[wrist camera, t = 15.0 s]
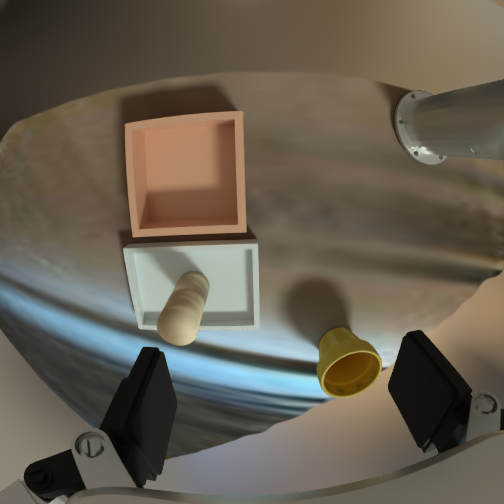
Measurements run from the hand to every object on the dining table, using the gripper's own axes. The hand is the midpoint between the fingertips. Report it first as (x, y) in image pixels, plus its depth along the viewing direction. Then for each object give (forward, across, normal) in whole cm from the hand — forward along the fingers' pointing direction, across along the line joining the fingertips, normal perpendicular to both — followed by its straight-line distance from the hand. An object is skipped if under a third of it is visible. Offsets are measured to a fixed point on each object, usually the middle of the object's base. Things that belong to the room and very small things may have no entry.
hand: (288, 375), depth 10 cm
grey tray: (+32, +10, +10) cm, 35 cm away
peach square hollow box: (+32, +9, -6) cm, 34 cm away
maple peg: (+32, +10, +10) cm, 35 cm away
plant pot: (+32, -14, +23) cm, 42 cm away
